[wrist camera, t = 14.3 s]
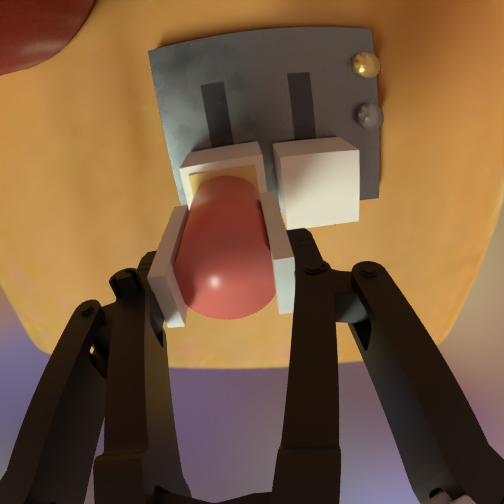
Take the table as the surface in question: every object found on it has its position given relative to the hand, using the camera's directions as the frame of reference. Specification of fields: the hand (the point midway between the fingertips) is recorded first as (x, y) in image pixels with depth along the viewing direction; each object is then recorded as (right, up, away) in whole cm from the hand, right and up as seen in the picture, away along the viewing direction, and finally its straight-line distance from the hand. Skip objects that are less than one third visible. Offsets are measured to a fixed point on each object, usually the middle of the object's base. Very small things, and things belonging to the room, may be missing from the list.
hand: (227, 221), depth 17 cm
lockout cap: (0, +1, +1) cm, 2 cm away
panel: (+3, +8, +4) cm, 10 cm away
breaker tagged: (0, +4, +5) cm, 6 cm away
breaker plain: (+6, +4, +5) cm, 9 cm away
